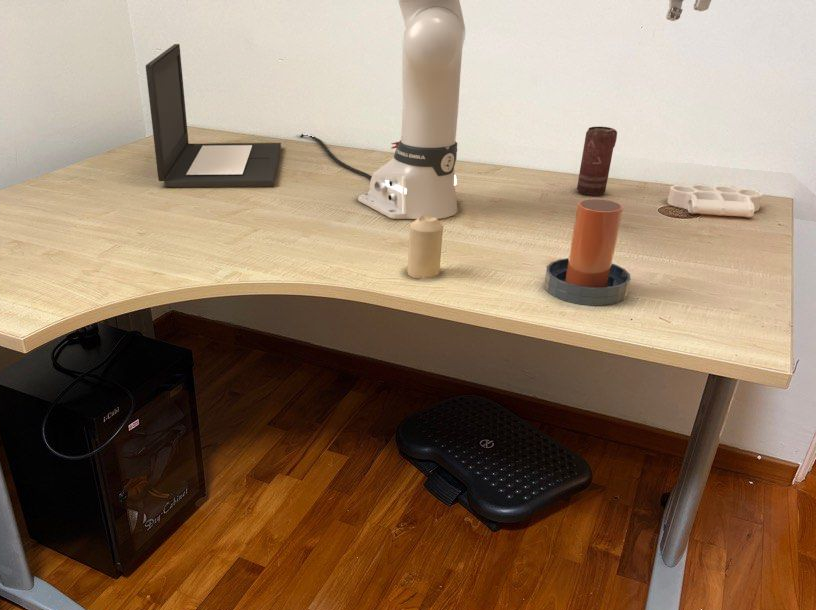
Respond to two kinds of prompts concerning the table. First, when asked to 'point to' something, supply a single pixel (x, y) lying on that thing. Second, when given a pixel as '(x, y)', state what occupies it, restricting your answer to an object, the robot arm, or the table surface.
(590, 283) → the tumbler
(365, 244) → the table surface
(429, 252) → the candle
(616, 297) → the bowl
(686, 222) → the table surface
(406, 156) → the robot arm
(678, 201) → the white brass knuckles
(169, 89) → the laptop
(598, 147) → the can
